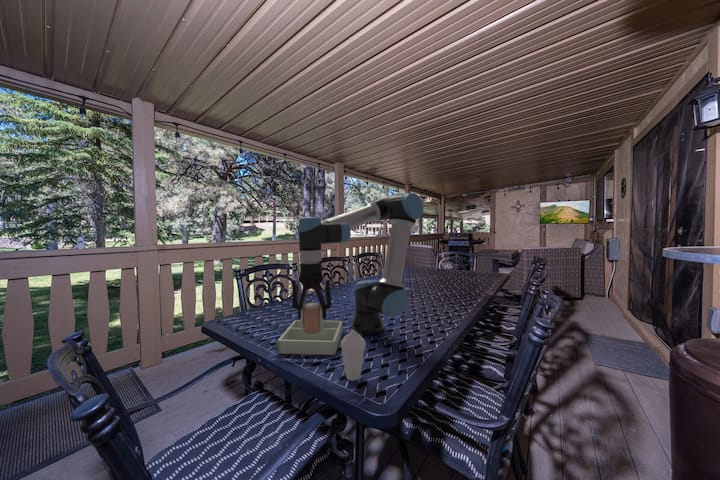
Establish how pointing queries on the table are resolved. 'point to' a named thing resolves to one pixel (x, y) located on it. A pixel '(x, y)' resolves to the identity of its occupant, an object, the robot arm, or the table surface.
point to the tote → (311, 339)
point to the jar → (312, 318)
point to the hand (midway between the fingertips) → (312, 327)
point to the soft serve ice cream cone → (353, 354)
